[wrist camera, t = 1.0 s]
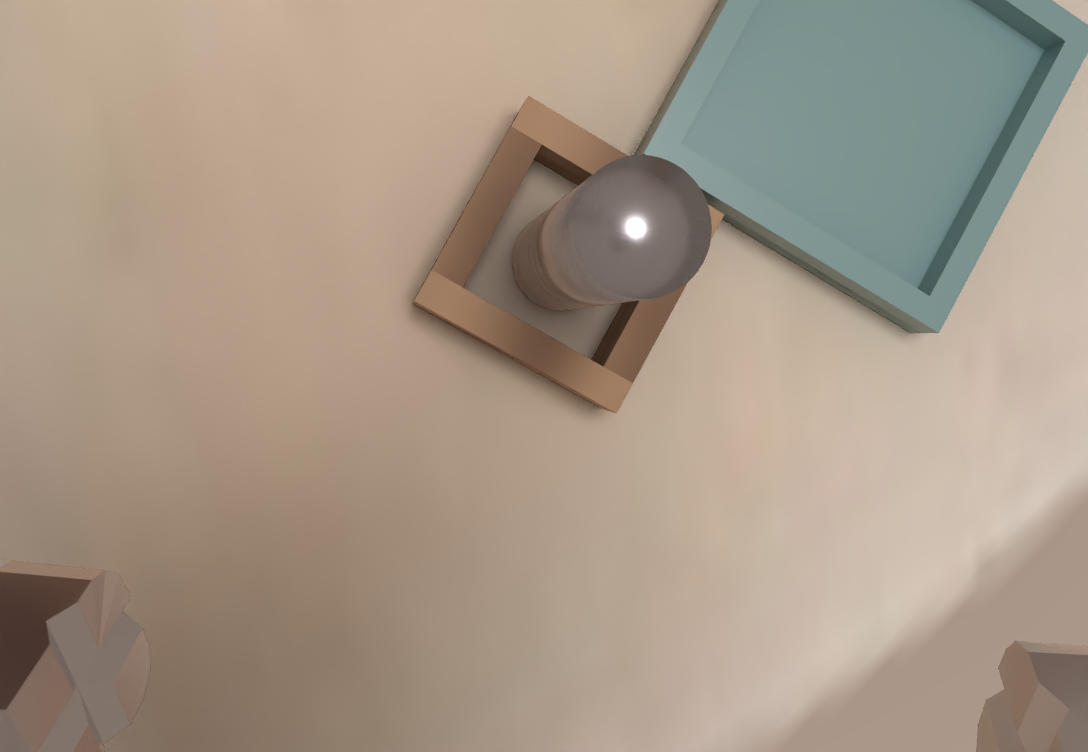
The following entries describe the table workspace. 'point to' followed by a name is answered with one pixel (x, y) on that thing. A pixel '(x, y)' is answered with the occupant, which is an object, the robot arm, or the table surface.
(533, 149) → the collar
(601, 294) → the peg
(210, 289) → the table surface
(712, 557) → the table surface
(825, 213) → the tray
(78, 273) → the table surface
